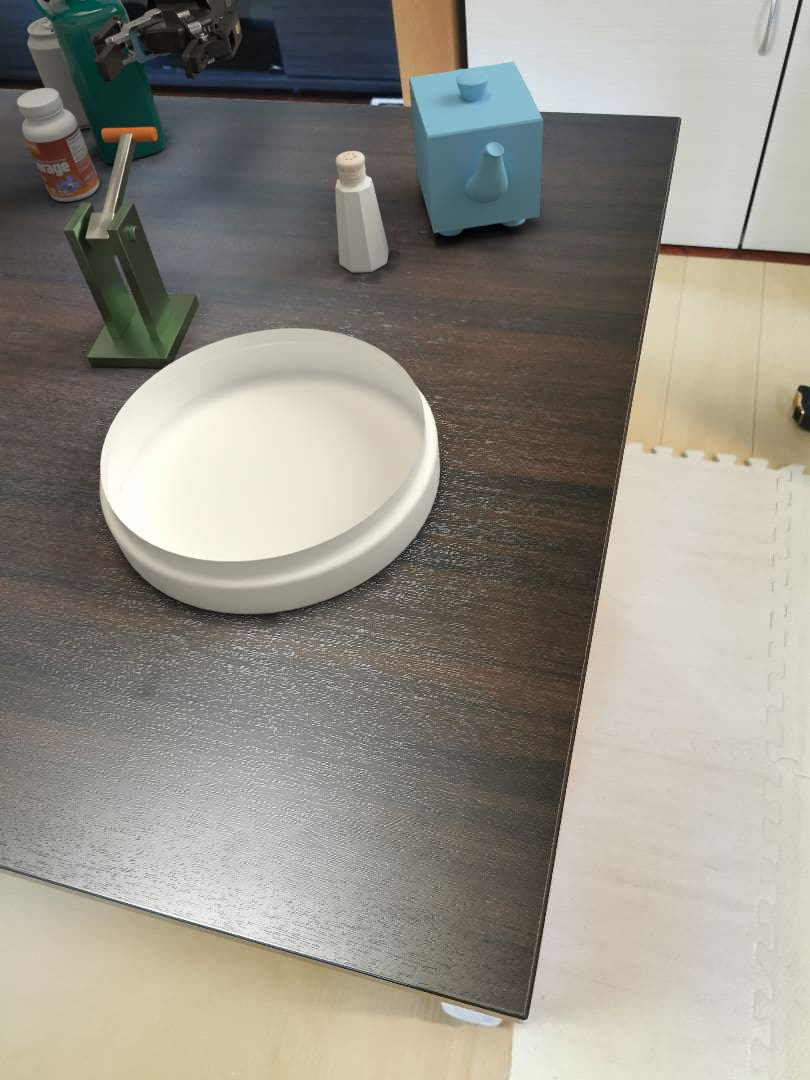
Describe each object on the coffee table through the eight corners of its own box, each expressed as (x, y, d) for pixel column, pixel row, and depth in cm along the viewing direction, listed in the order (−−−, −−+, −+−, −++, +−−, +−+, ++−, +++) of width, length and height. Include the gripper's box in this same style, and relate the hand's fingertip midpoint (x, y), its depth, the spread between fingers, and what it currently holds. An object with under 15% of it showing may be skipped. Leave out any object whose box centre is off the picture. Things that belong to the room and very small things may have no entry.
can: (96, 134, 112) (59, 36, 102) (49, 130, 114) (9, 33, 104) (125, 107, 116) (91, 11, 107) (79, 104, 118) (43, 9, 109)
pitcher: (157, 124, 112) (95, -72, 95) (171, 151, 107) (108, -51, 90) (85, 144, 110) (9, -52, 93) (95, 172, 105) (17, -30, 88)
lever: (111, 140, 80) (99, 120, 77) (161, 138, 79) (150, 118, 77) (83, 256, 76) (69, 238, 74) (135, 255, 75) (123, 238, 73)
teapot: (414, 173, 98) (403, 45, 87) (508, 158, 98) (509, 29, 87) (443, 281, 84) (435, 146, 73) (553, 265, 84) (560, 127, 74)
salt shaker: (396, 266, 87) (385, 162, 78) (346, 279, 86) (329, 176, 77) (381, 239, 90) (369, 137, 81) (333, 251, 89) (315, 150, 81)
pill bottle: (40, 201, 102) (-2, 108, 93) (67, 175, 105) (29, 83, 97) (84, 205, 100) (45, 111, 92) (110, 179, 104) (74, 85, 95)
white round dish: (63, 603, 63) (32, 560, 59) (172, 367, 80) (153, 320, 75) (418, 628, 59) (411, 583, 55) (455, 373, 75) (453, 323, 71)
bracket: (125, 303, 87) (77, 186, 77) (199, 303, 86) (159, 184, 76) (91, 366, 81) (33, 248, 71) (169, 368, 80) (122, 248, 70)
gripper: (119, -34, 88) (60, 30, 79) (249, -42, 86) (205, 23, 76) (143, 43, 94) (91, 112, 84) (265, 38, 92) (226, 108, 82)
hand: (145, 70), depth 80 cm, fingers open, 8 cm apart
